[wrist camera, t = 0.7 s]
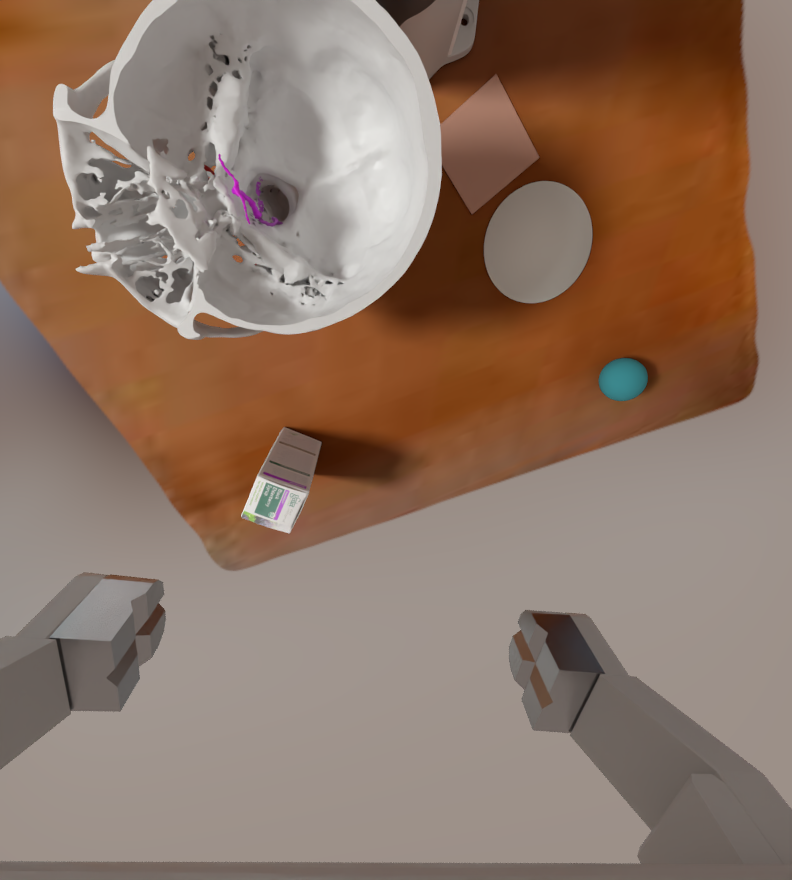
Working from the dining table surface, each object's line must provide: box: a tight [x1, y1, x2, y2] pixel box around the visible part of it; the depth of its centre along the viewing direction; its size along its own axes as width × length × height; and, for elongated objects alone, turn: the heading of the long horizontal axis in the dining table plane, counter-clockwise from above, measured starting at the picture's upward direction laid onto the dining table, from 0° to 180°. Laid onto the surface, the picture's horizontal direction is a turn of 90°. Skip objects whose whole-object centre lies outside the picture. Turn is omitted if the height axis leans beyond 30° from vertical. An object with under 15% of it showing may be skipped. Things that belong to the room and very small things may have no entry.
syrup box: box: [241, 427, 322, 533], centre depth 48 cm, size 6×6×14 cm
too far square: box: [440, 74, 539, 214], centre depth 42 cm, size 9×9×1 cm
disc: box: [484, 181, 592, 303], centre depth 46 cm, size 13×13×1 cm
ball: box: [599, 358, 648, 401], centre depth 51 cm, size 6×6×6 cm
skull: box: [53, 0, 442, 340], centre depth 34 cm, size 25×19×23 cm
